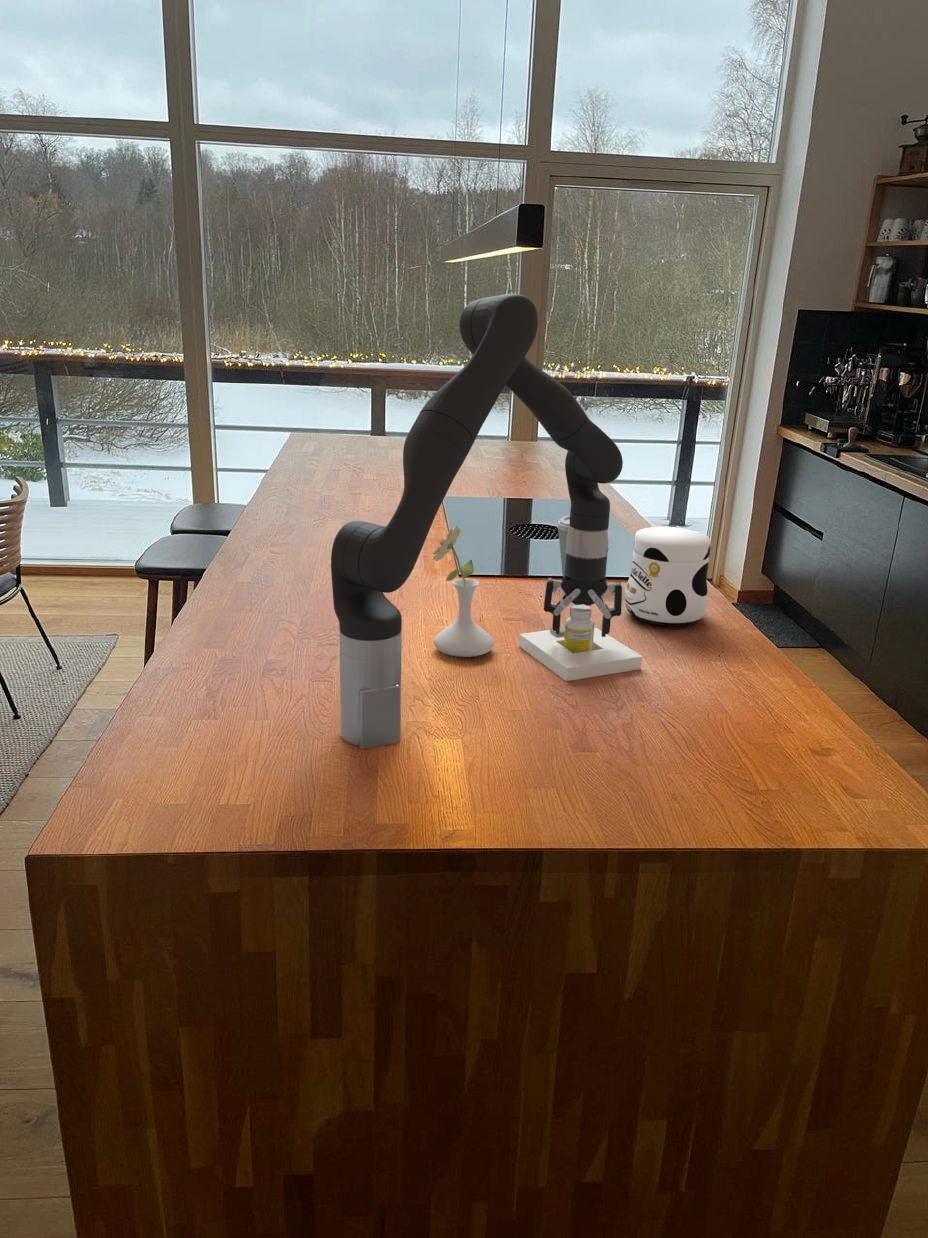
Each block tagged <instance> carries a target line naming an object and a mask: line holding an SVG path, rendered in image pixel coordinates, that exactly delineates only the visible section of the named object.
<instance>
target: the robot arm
mask: <svg viewBox="0 0 928 1238" xmlns="http://www.w3.org/2000/svg"><path fill="white" fill-rule="evenodd" d="M537 310H538V309H537V308H536V306H535V303H533V301H532V300H531V299H530V298H529V297H528V296H525V295H523V294H520V293H505V294H504V293H503V294H500V295H494V296H487V297H482V298H479V299H475V300H472V301H471V302H469V303H468V304H467V305H466V306H465V307H464V309H462V312H461V315H460V318H459V333H460V337H461V339H462V343H464V345H465V347H466V348H467V349H468V351H469V352H470V353H471V355H472V356H471V357H470V359H469V360H468V361H467V363H466V364H465V365H464V366H463V367H462V368H461V369H460V370H459V371H458V372H457V373H456V374H455V375H454V376H452V378H450V379H449V380H448V381H447V382H445V384H443V385H442V386H441V387H440V388H439V389H438V390H437V391H436V392H435V393H434V394H433V395H432V396H431V397H430V398H429V399H428V401H426V403H425V404H424V405H423V407H422V408H421V410H420V412H419V414H418V415H417V417H416V418H415V421H414V422H413V424H412V426H411V428H410V430H409V431H408V433H407V436H406V438H405V440H404V444H403V449H402V450H403V451H402V452H403V453H402V465H403V480H404V481H403V492H402V496H401V498H400V501H399V503H398V506H397V507H396V510H395V512H394V514H393V515H392V517H391V519H390V520H389V522H388V523H387V525H386V526H384V525H381V524H376V523H372V522H367V521H364V520H354V521H350V522H347V523H346V524H344V525H343V526H342V527H341V528H340V529H339V530H338V531H337V533H336V536H335V538H334V540H333V544H332V548H331V554H330V569H331V570H330V573H331V575H330V576H331V585H332V586H331V587H332V589H331V590H332V600H333V609H334V613H335V616H336V617H337V620H338V622H339V623H338V624H339V683H340V684H339V686H340V687H339V690H340V691H339V695H340V699H339V703H340V707H339V708H340V735H341V736H340V737H342V739H343V740H344V741H345V742H347V743H349V744H352V745H353V746H354V745H355V746H357V747H359V748H360V749H361V750H364V749H370V748H376V747H383V746H387V745H394V744H399V743H400V742H401V737H400V736H401V732H402V731H401V730H402V729H401V728H402V725H401V724H402V719H401V718H402V716H401V715H402V710H401V709H402V706H401V705H402V643H403V642H402V639H403V638H402V637H403V635H402V633H403V632H402V630H403V629H402V628H403V627H402V624H403V622H402V621H403V620H402V619H403V618H402V617H403V616H402V614H401V612H400V610H399V608H398V607H396V606H395V604H394V603H392V602H391V600H389V599H388V598H387V597H386V595H385V593H386V594H387V593H388V594H389V593H393V592H395V591H397V590H399V589H400V588H401V587H402V586H403V585H404V584H405V583H406V581H407V580H408V579H409V577H410V575H411V574H412V572H413V570H414V568H415V565H416V563H417V562H418V559H419V557H420V554H421V551H422V550H423V547H424V544H425V542H426V539H427V537H428V535H429V532H430V530H431V527H432V525H433V522H434V520H435V517H436V515H437V514H438V511H439V509H440V507H441V505H442V503H443V502H444V499H445V497H446V495H447V494H448V492H449V489H450V487H451V486H452V483H453V482H454V480H455V478H456V477H457V476H456V475H457V474H458V472H459V470H460V468H461V467H462V465H463V464H464V462H465V460H466V459H467V456H468V454H469V453H470V451H471V450H472V447H473V445H474V443H475V441H476V440H477V438H478V434H479V433H480V431H481V429H482V427H483V425H484V423H485V422H486V420H487V418H488V416H489V415H490V413H491V411H492V409H493V407H494V405H495V404H496V402H497V400H498V398H499V396H500V395H501V393H502V392H503V389H504V388H505V386H506V387H507V388H508V389H509V390H510V391H511V392H512V393H513V394H514V395H515V396H516V397H517V398H518V399H519V400H520V401H521V402H522V403H523V404H524V405H525V406H526V407H527V408H528V409H529V411H530V412H531V414H533V416H534V417H535V418H536V420H537V421H538V422H539V423H540V425H541V426H542V428H543V429H544V430H545V431H546V433H547V434H548V435H549V437H550V438H551V439H552V441H553V442H554V443H555V444H556V445H557V446H559V447H560V448H562V449H563V450H566V451H567V453H566V454H565V455H566V456H565V460H564V469H565V477H566V482H567V483H566V484H567V489H568V495H569V498H570V511H569V515H570V522H569V531H568V535H567V545H566V559H565V573H564V577H563V578H562V580H560V579H559V580H558V579H554V578H553V577H548V578H547V579H546V587H545V593H544V600H543V601H544V602H543V611H544V612H546V613H551V614H552V626H551V628H552V629H553V631H556V634H559V633H560V627H561V619H562V618H561V616H562V614H561V613H563V611H564V610H565V609H567V608H568V606H569V605H570V604H571V603H572V604H574V605H573V606H576V605H583V606H587V607H591V606H592V605H596V607H597V609H598V610H599V611H600V612H601V614H602V618H601V619H602V621H601V629H600V630H601V636H602V637H605V636H606V634H607V635H609V634H610V630H611V619H612V618H613V617H619V616H622V607H623V606H622V605H623V603H622V602H623V587H622V583H621V581H615V582H613V583H612V582H610V583H609V582H607V581H606V577H607V563H608V553H609V549H610V548H609V543H610V542H609V539H610V538H609V523H610V513H611V512H610V511H611V501H610V499H609V497H607V496H606V495H605V494H604V493H603V492H601V490H600V487H599V484H610V483H612V482H614V481H615V480H617V478H618V477H620V474H621V472H622V471H623V465H624V461H623V456H622V453H621V450H620V448H619V446H618V445H617V444H616V443H615V442H614V441H613V440H612V438H611V437H610V436H608V435H607V433H605V432H604V431H603V430H602V429H601V428H600V427H599V426H598V425H596V424H595V423H594V422H593V421H592V420H591V419H590V418H589V417H588V415H587V413H586V412H585V410H584V409H583V407H582V406H581V404H579V403H580V402H578V401H577V399H576V398H575V396H574V395H573V394H572V393H571V391H570V390H568V388H566V386H564V385H563V384H562V383H561V382H559V381H558V380H557V379H555V378H554V377H553V376H551V375H550V374H548V373H547V372H545V371H544V370H542V369H541V368H540V367H538V366H537V365H536V364H534V363H533V362H532V361H531V359H529V358H527V357H526V355H527V354H528V353H529V351H530V349H531V348H532V346H533V344H534V342H535V339H536V336H537V332H538V328H539V316H538V311H537ZM559 588H561V589H562V591H563V593H564V594H563V595H562V596H561V597H560V599H559V600H558V602H557V603H556V604H553V603H552V597H553V593H555V592H557V591H558V589H559ZM607 591H609V592H610V594H611V596H614V599H613V607H611V608H610V607H609V606H608V605H607V603H606V601H605V600H604V598H603V595H604V594H605V593H606V592H607Z"/></svg>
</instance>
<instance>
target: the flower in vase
mask: <svg viewBox="0 0 928 1238" xmlns="http://www.w3.org/2000/svg"><path fill="white" fill-rule="evenodd" d="M461 531H462V530H461V527H460V526H458V525H455V527H454V528H453V527H451V528H450V529H449V530H448V533H447V534H446V538H442V539H441V540H440V541H439V545H440V546H438V547H436V549H435V550H434V552H433V553H432V555H434V556H433V558H432V561H436V562H438V561H441V560H442V559H443V558H444V557H445V556H446V555H447V554H449V552H450V551H453V554H454V557H455V560H456V562H457V565H458V569H457V568H456V569H454V570H452V571H451V572H449V574H448V575H447V577H446V580H445V582H450V581H452V583H451V584H452V585H453V586H454V589H456V593H457V596H458V614H457V618H456V620H454V622H452V623H451V624H450V625H447V627H445V628H444V629H442V630H441V631H440V632H439V633H438V634H437V635H436V636H435V638H434V640H433V644H434V645H433V646H434V647H435V648H436V649H437V651H439V652H441V653H443V654H445V655H448V656H451V657H458V658H472V657H477V656H482V655H484V654H487V653H488V652H490V651H492V649H493V647H494V646H495V643H494V641H493V638H492V636H491V635H489V633H488V632H487V631H485V630H484V629H483V628H482V627H481V626H479V625H478V624H477V623H476V622H475V621H474V620H473V618H472V610H471V609H472V601H473V595H474V593H475V591H476V588H477V587H478V586H480V581H478V580H477V579H474V578H467V577H469V576H471V575H473V574H474V571H475V569H474V564H473V560H472V559H470V560H468V561H467V562H465V563H464V564H462V565H461V563H460V561H459V556H458V554H457V552H456V550H455V547H454V545H455V544H456V543H457V541H458V538H459V537H460V533H461ZM459 573H460V576H461V578H456V577H458V574H459ZM455 578H456V579H455Z"/></svg>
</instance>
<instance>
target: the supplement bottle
mask: <svg viewBox="0 0 928 1238" xmlns="http://www.w3.org/2000/svg"><path fill="white" fill-rule="evenodd" d="M592 612H593V611H592V608H591V606H588V605H583V604H581V605H573V606H571V607H570V608H569V616H570V617H568V618H567V619H566V621H565V626H564V627H565V638H564V647H565V648H566V649H568V650H569V651H571V652H572V653H579V652H586V651H593V638H594V627H595V622H594V620H593V619H592Z"/></svg>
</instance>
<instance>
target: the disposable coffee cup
mask: <svg viewBox="0 0 928 1238" xmlns="http://www.w3.org/2000/svg"><path fill="white" fill-rule="evenodd" d="M569 522H570V514H569V515H565V516H563V517H561V518H559V520H557V524H556V528H557V530H558V540H559V542H558V543H559V552H560V562H561V572H562V577H563V578H564V573H565V559H566V545H567V535H568V531H569Z"/></svg>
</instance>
